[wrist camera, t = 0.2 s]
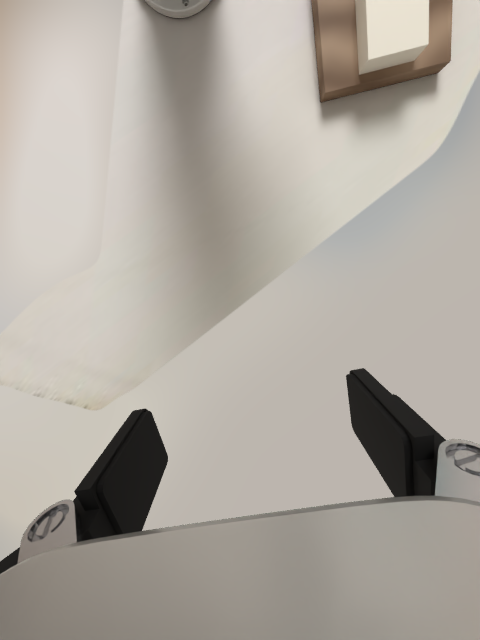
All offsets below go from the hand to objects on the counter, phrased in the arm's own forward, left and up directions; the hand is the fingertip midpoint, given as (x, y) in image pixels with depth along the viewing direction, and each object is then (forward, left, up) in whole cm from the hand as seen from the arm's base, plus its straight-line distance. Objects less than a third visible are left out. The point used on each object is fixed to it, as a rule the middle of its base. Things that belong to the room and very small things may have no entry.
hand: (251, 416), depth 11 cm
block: (-31, +24, -28) cm, 48 cm away
